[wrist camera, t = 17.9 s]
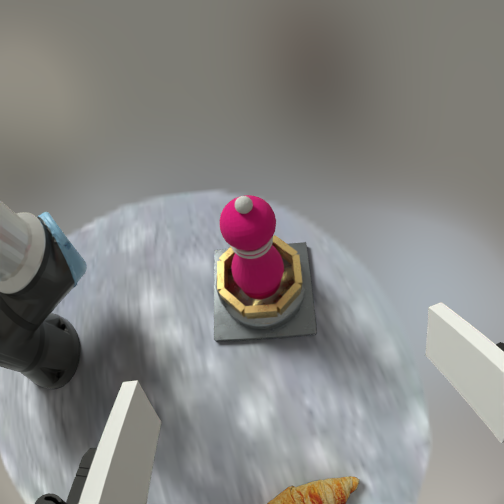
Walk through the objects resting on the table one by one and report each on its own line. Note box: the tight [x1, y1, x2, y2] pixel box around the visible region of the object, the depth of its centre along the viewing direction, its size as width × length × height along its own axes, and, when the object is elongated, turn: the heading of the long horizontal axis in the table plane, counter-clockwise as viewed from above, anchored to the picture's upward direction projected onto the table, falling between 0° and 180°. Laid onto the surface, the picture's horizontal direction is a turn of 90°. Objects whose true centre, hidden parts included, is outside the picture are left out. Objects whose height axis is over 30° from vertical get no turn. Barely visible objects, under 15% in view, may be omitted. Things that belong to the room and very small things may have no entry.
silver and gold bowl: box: [214, 235, 317, 341], centre depth 49 cm, size 16×16×8 cm
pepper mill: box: [220, 195, 284, 299], centre depth 39 cm, size 7×7×20 cm
